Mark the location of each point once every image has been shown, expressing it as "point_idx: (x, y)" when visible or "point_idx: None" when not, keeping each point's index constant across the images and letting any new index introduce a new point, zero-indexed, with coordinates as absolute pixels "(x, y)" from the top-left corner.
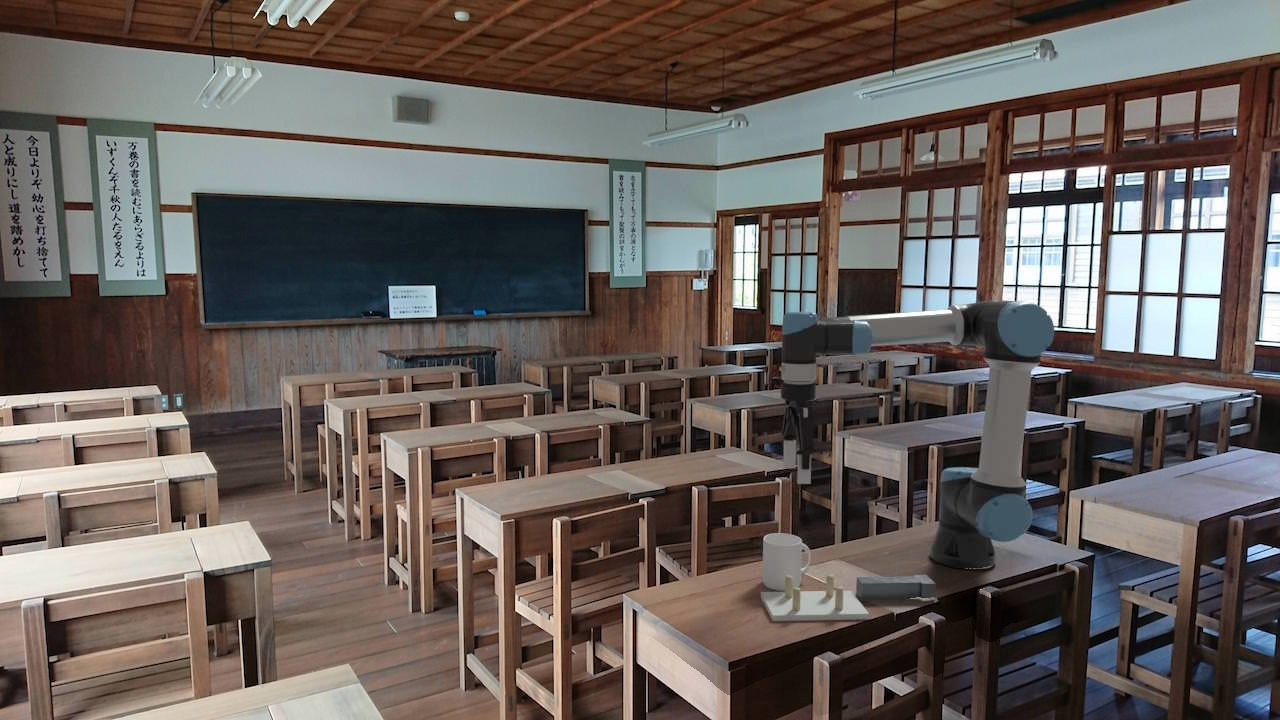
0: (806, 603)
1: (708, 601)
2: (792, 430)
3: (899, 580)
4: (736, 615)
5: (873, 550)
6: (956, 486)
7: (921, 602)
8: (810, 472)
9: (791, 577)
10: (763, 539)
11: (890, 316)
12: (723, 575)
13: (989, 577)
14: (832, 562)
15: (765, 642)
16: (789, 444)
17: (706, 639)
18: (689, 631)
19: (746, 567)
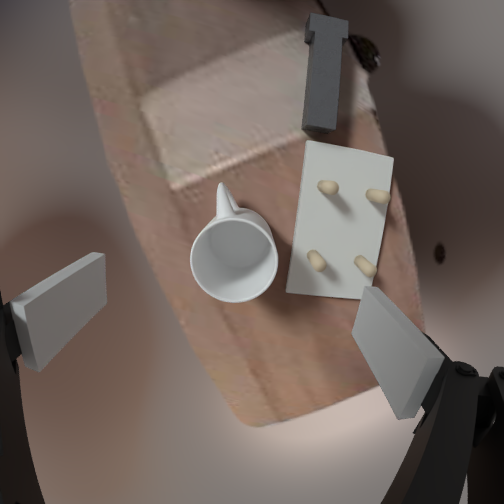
0: (343, 236)
1: (283, 360)
2: (10, 394)
3: (331, 62)
4: (335, 336)
5: (118, 35)
6: None
7: (344, 51)
8: (398, 309)
9: (324, 262)
10: (224, 300)
11: None
12: (188, 317)
13: None
14: (152, 113)
15: (409, 319)
16: (44, 335)
17: None
18: (357, 389)
19: (156, 272)
